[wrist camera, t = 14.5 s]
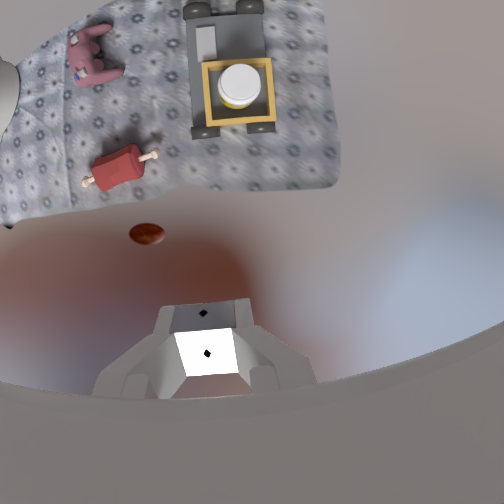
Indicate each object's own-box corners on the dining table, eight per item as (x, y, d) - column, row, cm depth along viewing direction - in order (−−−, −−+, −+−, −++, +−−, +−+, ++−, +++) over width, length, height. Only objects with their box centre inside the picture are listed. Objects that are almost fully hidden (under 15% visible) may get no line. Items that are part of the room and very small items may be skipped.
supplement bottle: (216, 78, 32) (214, 62, 24) (253, 74, 32) (261, 57, 24) (220, 112, 34) (219, 105, 26) (257, 108, 34) (266, 100, 26)
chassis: (193, 139, 36) (190, 140, 32) (184, 14, 28) (181, 4, 25) (273, 132, 36) (278, 131, 33) (261, 8, 29) (264, -2, 25)
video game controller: (94, 37, 29) (58, 38, 23) (114, 21, 27) (77, 18, 21) (107, 89, 33) (70, 94, 27) (128, 74, 31) (89, 77, 25)
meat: (155, 129, 34) (150, 140, 30) (167, 161, 37) (164, 175, 33) (81, 161, 34) (69, 175, 30) (95, 189, 37) (85, 206, 34)
